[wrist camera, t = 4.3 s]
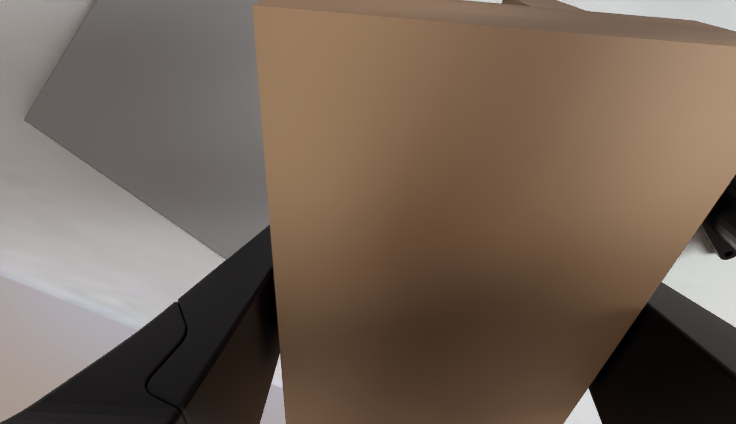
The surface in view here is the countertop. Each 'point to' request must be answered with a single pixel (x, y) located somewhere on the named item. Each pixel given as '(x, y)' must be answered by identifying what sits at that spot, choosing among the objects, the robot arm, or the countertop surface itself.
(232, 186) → the mat
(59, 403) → the robot arm
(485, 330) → the stool
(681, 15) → the countertop surface
